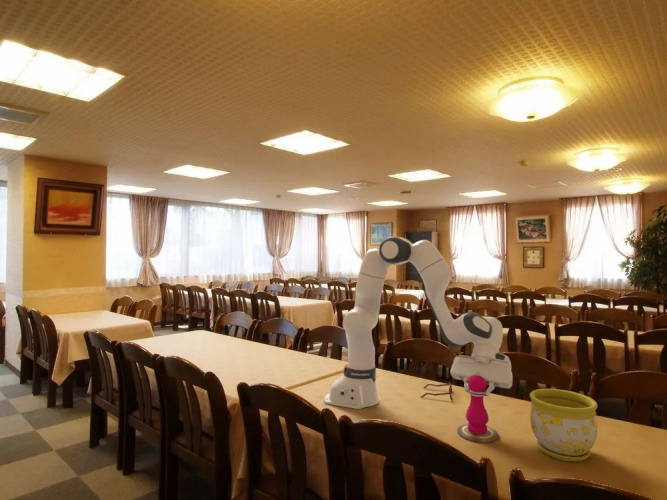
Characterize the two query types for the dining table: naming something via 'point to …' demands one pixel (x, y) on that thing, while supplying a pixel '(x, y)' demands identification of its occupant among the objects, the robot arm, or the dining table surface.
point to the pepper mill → (477, 405)
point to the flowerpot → (563, 423)
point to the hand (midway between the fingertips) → (476, 393)
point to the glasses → (439, 393)
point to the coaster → (477, 435)
